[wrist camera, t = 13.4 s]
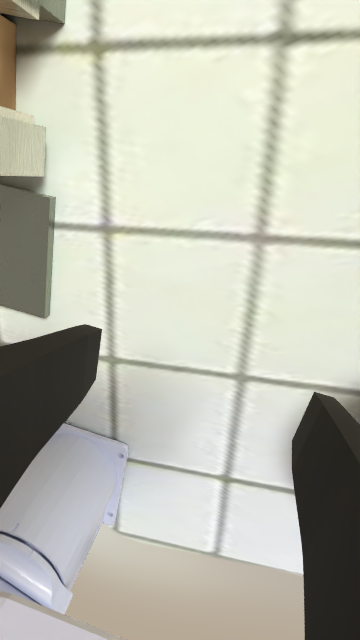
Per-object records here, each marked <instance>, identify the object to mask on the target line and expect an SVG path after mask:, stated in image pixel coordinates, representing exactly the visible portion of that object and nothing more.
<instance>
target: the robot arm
mask: <svg viewBox="0 0 360 640" xmlns="http://www.w3.org/2000/svg"><path fill="white" fill-rule="evenodd" d="M101 333H102V329H99V328H96V327H93V326H89V325H86V324H85V325H79V326H75V327H72V328H68V329H65V330H61V331H58V332H54V333H51V334H47V335H44V336H41V337H37V338H34V339H30V340H26V341H22V342H18V343H13V344H9V345H5V346H1V347H0V640H126V639H123V638H121V637H118V636H116V635H114V634H111V633H108V632H106V631H104V630H101V629H99V628H96V627H94V626H91V625H89V624H86V623H84V622H81V621H79V620H76V619H74V618H71V617H69V616H67V615H65V612H66V609H67V607H68V605H69V603H70V601H71V598H72V596H73V594H72V592H70V590H71V588H72V587H73V585H74V582H75V580H76V578H77V576H78V574H79V572H80V569H81V567H82V565H83V563H84V561H85V559H86V556H87V554H88V552H89V550H90V548H91V545H92V544H93V542H94V539H95V537H96V535H97V533H98V531H99V529H100V526H101V524H102V523H103V524H106V525H110V526H111V525H114V523H115V520H116V515H117V510H118V505H119V499H120V494H121V489H122V484H123V479H124V473H125V468H126V463H127V458H128V453H129V447H128V446H127V445H126V444H124V443H122V442H119V441H116V440H113V439H110V438H107V437H104V436H101V435H98V434H95V433H92V432H89V431H86V430H83V429H80V428H77V427H74V426H71V425H68V424H65V423H64V422H65V421H66V420H67V419H68V417H69V416H70V415H71V414H72V413H73V411H74V410H75V409H76V408H77V407H78V405H79V404H80V403H81V402H82V400H83V399H84V397H85V396H86V394H87V393H88V391H89V389H90V388H91V386H92V384H93V383H94V381H95V379H96V373H97V365H98V357H99V349H100V341H101ZM120 453H121V454H120ZM122 454H123V455H122ZM292 474H293V482H294V490H295V497H296V505H297V512H298V519H299V527H300V534H301V542H302V552H303V572H304V608H305V609H304V610H305V640H360V425H359V424H358V423H357V422H356V420H355V419H354V418H353V417H352V416H351V415H350V414H349V413H348V412H347V410H346V409H345V408H344V407H343V406H342V405H341V404H340V403H339V402H338V401H337V400H336V399H335V398H333V397H330V396H327V395H323V394H320V393H316V392H314V394H313V396H312V398H311V400H310V402H309V405H308V407H307V409H306V411H305V413H304V416H303V418H302V420H301V422H300V425H299V427H298V429H297V431H296V433H295V436H294V438H293V440H292Z"/></svg>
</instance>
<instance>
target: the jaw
mask: <svg viewBox="0 0 360 640" xmlns="http://www.w3.org/2000/svg"><path fill="white" fill-rule="evenodd" d="M45 133H46V127H42V126H38V125H34V116H32V115H29V114H26V113H22V112H19V111H15V110H12V109H8V108H5V107H1V106H0V176H39V177H44V160H45Z"/></svg>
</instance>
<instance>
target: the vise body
mask: <svg viewBox="0 0 360 640" xmlns="http://www.w3.org/2000/svg"><path fill="white" fill-rule="evenodd" d="M65 5H66V0H0V13H3V14H8V15H14V16H19V17H24V18H30V19H35V20H39V19H41V20H47V21H52V22H57V23H63V24H65ZM55 199H56V197H52V196H48V195H44V194H40V193H36V192H32V191H28V190H24V189H20V188H16V187H12V186H8V185H4V184H0V305H2V306H6V307H9V308H12V309H16V310H19V311H22V312H26V313H29V314H32V315H36V316H39V317H43V318H46V317H47V316H49V315H50V295H51V276H52V257H53V237H54V218H55Z"/></svg>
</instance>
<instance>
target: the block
mask: <svg viewBox="0 0 360 640" xmlns="http://www.w3.org/2000/svg"><path fill="white" fill-rule="evenodd" d="M0 106H1V107H5V108H8V109H12V110H15V111H16V25H15V24H14V23H12V22H11V21H9V20H7V19H6V18H4V17H3V16H1V15H0Z"/></svg>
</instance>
